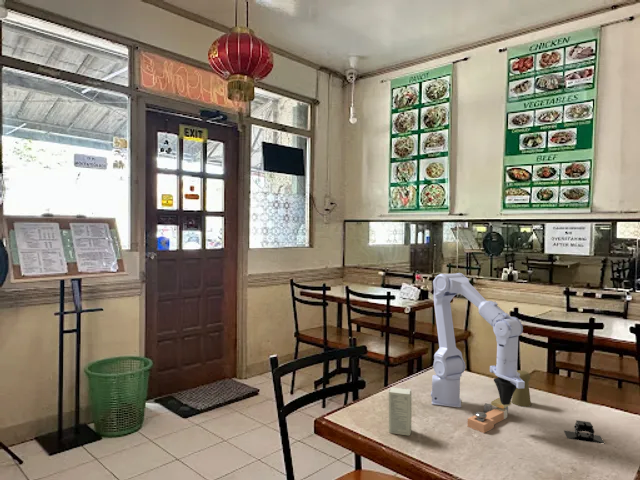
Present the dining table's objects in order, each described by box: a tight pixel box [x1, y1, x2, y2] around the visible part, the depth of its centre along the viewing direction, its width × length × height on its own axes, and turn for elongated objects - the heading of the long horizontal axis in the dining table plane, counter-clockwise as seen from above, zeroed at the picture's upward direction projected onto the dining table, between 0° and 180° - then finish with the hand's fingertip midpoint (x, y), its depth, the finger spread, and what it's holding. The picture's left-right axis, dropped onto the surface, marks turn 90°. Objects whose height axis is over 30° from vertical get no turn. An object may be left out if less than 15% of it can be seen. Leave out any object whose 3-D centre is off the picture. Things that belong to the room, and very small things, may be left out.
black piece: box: [563, 420, 606, 445], centre depth 128 cm, size 12×7×5 cm, turn 71°
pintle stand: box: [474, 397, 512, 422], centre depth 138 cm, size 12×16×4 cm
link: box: [467, 407, 508, 434], centre depth 136 cm, size 16×5×2 cm, turn 130°
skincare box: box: [388, 386, 413, 436], centre depth 129 cm, size 6×4×12 cm
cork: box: [511, 369, 532, 408], centre depth 152 cm, size 6×6×11 cm
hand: (505, 403), depth 132 cm, fingers closed
